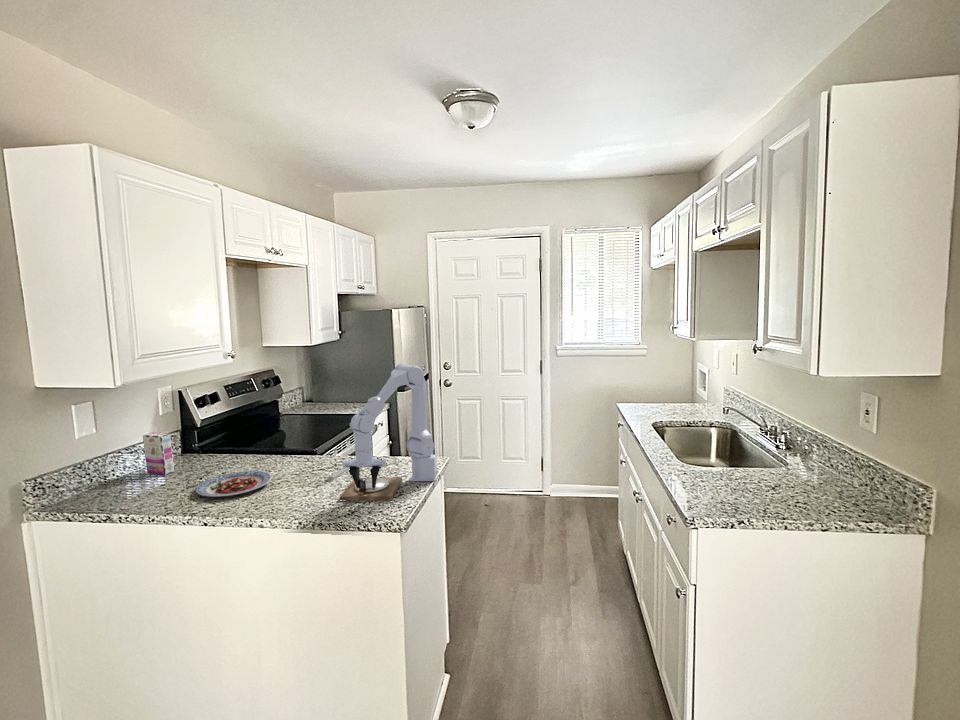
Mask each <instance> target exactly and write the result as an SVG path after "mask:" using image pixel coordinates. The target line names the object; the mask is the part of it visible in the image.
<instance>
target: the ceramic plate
mask: <svg viewBox="0 0 960 720" xmlns="http://www.w3.org/2000/svg"><path fill="white" fill-rule="evenodd" d="M271 480H272V475H271V474H270V473H269V472H268V471H267V472H266V471H262V470H244V471H243V470H241V471H236V472H230V473H226V474H222V475H218V476H214V477H211V478H209V479H207V480H205V481H204V482H203V481H202V482H201V483H200V484H199V485H198V486H197V487H196V489H195V491H196V493H197V494H198V495H200V496H203V497H213V498H218V497H230V496H237V495H242V494H245V493H249V492H251V491H254V490H257V489H259V488H262V487H264V486H265V485H266V484H268V483H269V482H271Z"/></svg>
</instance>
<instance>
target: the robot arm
mask: <svg viewBox="0 0 960 720" xmlns="http://www.w3.org/2000/svg"><path fill="white" fill-rule="evenodd" d="M424 372H425V371H424V370H423V368H421V367H420V366H418V365H411V364H410V365H408V364H404V363H399V364H397V365H396V366H395V367H394V369H393V370H392V371H390V377H389V378H388V379H387V381H386V383H384V385H383V386H382V388H381V390H380V391H379V392H378V394H377V395H376V396H371V398H368V399H367V402H366V404H365V405H364V406H363V407H362V409H359V411H358V413H356V414H354V415H353V416H352V417H351V420H350V423H349V427H350V429H351V430H352V433H353V438H354V439H353V440H354V441H353V442H354V452H355V455H354V456H355V459H356V460H353V459H351V460H344V461H343V462H342V468H347V467H350V470H349V471H348V473H349V474H350V475H351V478H352V479H353V480H354V481H355V484H356V487H357V488H359V481H358V480H359V479H360V478H361V477H360V476H361V475H360V471H361V470H360V468H370V470H369V471H370V475H371V476H370V477H371V478H372V488H375V487H376V480H377V478H378V476H379V472H380V470H381V468H386V467H387V460H386V459H375V458H374V457H373V442H372V441H373V440H372V432H371V431H372V430H373V429H374V427H375V422H376V420H377V418H378V417H379V415H380V414H381V412H383V410H384V409H385V407H386V402H387V400H388V399H389V398H390V397H391V396H392V395H393V394H394V392H395V391H396V390H398V388H399V387H402V386H408V387H409V388H410V389H411V431H410V432H409V433H408V435H407V436H408V437H407V438H408V439H407V442H406V449H407V451H408V452H409V455H410V460H411V461H410V462H411V474H412V475H411V477H410V479H409V482H435V481H436V479H437V476H438V475H439V473H438V461H437V455H436V454H433V452H434V450H435V444H434V441H433V436H432V434H431V433H430V432H429V430H428V428H427V427H428V423H427V421H428V418H427V417H428V415H427V410H428V409H427V381H426V379H425V377H424V376H425V375H424V374H425V373H424Z"/></svg>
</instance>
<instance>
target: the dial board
mask: <svg viewBox="0 0 960 720" xmlns="http://www.w3.org/2000/svg"><path fill="white" fill-rule="evenodd" d="M362 478H364V479H370V478H371V477H360V479H362ZM382 478H383V479H386V480H388V481H389V486H388V487H387V488H386V489H384V490H382V491H378V492H373V493H365V494H363V495H359V492H357V491H356V490H355V481H354V479H353V480H352V481H350V484H348V485H347V487H346V489H344V491H343V492H342V493H341V494H340V495H339V501H340V500H376V501H392V500H393V498H394V496H395V495H396V493H397V492H398V490H397V489H399V488H400V486H401V484H402V482H403V477H399V476H398V477H396V476H395V477H393V476H392V477H382Z"/></svg>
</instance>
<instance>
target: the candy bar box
mask: <svg viewBox="0 0 960 720" xmlns="http://www.w3.org/2000/svg"><path fill="white" fill-rule="evenodd" d="M172 439H173V438H172V433H167V432H165V433H164V432H150V433H145V434H143V435H142V440H143V441H142V442H143V450H144V456H145V457H144V458H145V466H146V472H147V474H152V475H153V474H154V475H163V476H166V475H170V474H173V473H175V472H176V464H175V456H174V448H173V447H174V446H173V440H172Z"/></svg>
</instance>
